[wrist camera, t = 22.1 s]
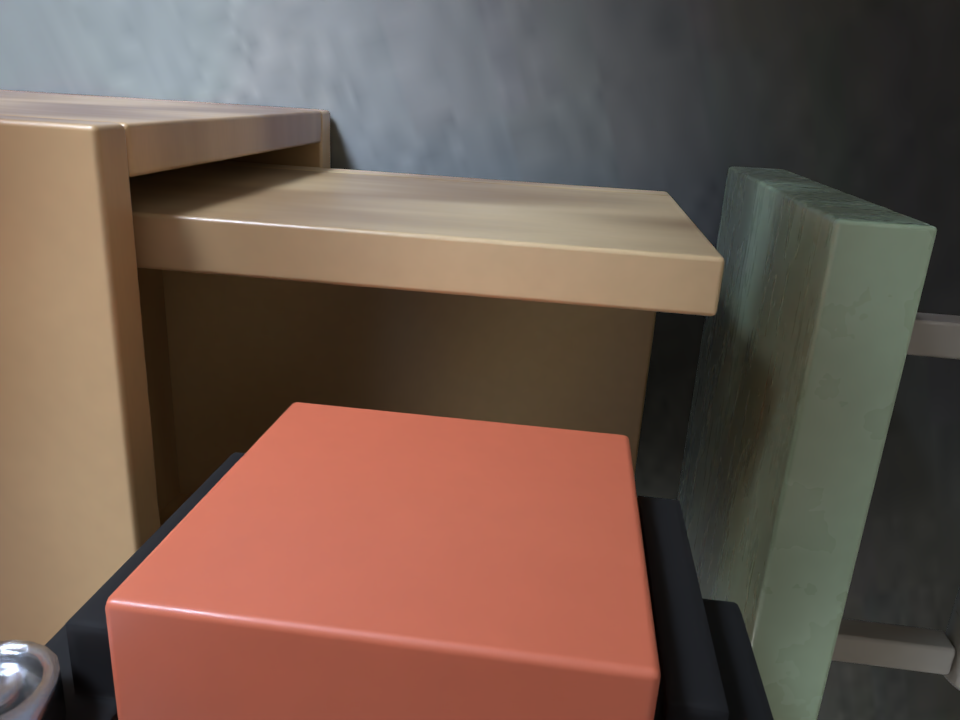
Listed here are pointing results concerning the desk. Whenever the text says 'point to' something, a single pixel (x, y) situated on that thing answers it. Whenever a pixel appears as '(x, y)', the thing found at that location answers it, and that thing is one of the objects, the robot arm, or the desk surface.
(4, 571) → the cabinet
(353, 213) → the drawer
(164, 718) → the block
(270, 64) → the desk surface
